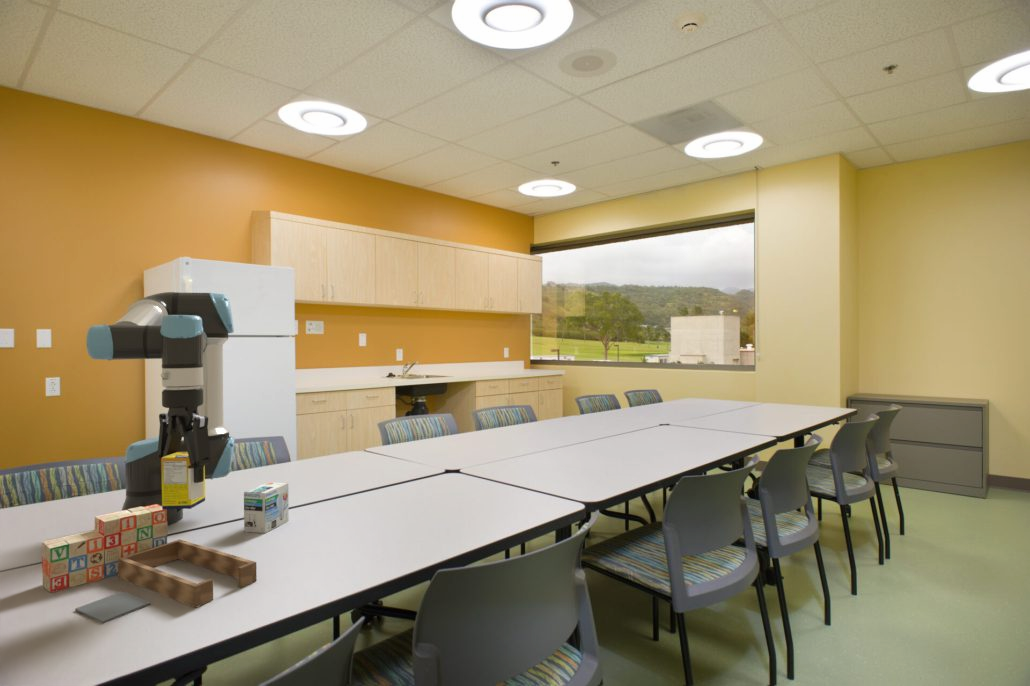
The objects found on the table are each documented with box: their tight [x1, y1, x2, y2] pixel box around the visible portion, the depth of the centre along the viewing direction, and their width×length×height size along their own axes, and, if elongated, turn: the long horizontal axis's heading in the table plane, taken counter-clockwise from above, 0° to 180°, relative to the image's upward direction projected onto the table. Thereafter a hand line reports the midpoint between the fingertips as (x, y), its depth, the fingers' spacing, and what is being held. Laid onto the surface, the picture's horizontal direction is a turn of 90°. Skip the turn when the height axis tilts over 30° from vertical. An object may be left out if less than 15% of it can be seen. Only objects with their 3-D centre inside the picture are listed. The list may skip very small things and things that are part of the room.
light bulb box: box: [243, 481, 290, 534], centre depth 150 cm, size 11×7×11 cm, turn 168°
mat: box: [75, 591, 151, 625], centre depth 105 cm, size 10×8×1 cm
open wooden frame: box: [117, 539, 258, 608], centre depth 117 cm, size 28×13×4 cm, turn 61°
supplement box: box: [161, 452, 206, 510], centre depth 117 cm, size 6×6×11 cm
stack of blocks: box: [41, 504, 168, 593], centre depth 121 cm, size 21×6×12 cm, turn 141°
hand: (184, 494), depth 117 cm, fingers closed on supplement box, 8 cm apart
